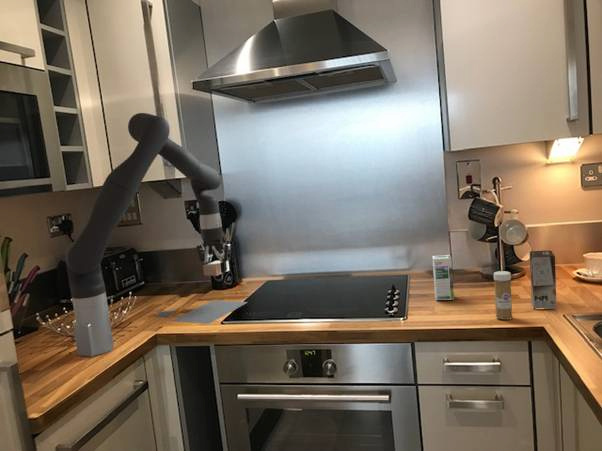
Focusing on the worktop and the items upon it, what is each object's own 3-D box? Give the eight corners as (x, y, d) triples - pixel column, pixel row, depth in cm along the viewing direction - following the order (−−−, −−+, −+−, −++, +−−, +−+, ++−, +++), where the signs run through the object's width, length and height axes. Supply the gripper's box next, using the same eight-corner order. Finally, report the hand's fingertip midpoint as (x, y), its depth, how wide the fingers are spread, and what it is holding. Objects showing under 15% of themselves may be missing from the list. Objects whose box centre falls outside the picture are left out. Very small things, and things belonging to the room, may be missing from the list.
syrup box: (436, 301, 167) (433, 258, 165) (434, 296, 173) (432, 255, 171) (454, 301, 166) (451, 257, 164) (452, 296, 172) (449, 254, 170)
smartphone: (138, 325, 171) (160, 311, 186) (139, 328, 171) (160, 313, 186) (157, 325, 169) (177, 310, 184) (157, 327, 170) (178, 313, 184)
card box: (217, 270, 188) (216, 260, 188) (229, 270, 186) (228, 260, 185) (204, 275, 181) (202, 265, 181) (216, 275, 178) (215, 265, 178)
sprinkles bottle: (502, 321, 143) (500, 275, 141) (492, 317, 147) (490, 272, 145) (516, 319, 144) (514, 272, 142) (505, 314, 148) (503, 269, 147)
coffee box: (557, 310, 148) (555, 256, 146) (533, 309, 150) (531, 256, 148) (553, 301, 157) (551, 249, 155) (530, 300, 159) (528, 250, 157)
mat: (209, 324, 165) (208, 323, 165) (170, 322, 173) (170, 320, 173) (248, 303, 187) (248, 302, 187) (212, 301, 194) (212, 300, 194)
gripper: (233, 224, 181) (239, 270, 183) (201, 225, 188) (207, 270, 190) (221, 227, 175) (227, 275, 177) (188, 228, 181) (194, 274, 183)
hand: (216, 272), depth 183 cm, fingers closed on card box, 5 cm apart
